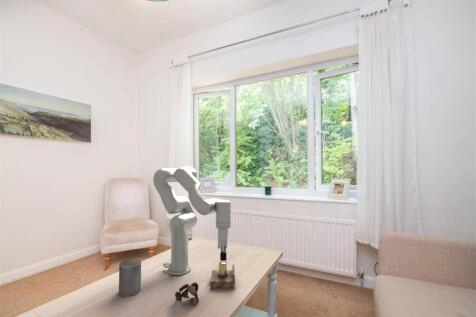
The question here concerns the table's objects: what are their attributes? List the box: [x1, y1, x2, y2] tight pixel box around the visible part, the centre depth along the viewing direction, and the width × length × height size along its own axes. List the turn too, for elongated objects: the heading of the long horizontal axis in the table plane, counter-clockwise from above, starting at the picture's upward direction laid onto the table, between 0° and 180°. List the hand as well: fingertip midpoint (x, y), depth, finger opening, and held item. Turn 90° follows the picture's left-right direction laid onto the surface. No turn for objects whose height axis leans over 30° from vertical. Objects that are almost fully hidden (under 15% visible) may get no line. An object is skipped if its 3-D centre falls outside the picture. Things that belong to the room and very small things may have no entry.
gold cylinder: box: [218, 261, 228, 278], centre depth 121 cm, size 4×4×10 cm
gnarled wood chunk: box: [174, 281, 200, 307], centre depth 105 cm, size 12×10×8 cm
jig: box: [209, 264, 236, 290], centre depth 121 cm, size 12×12×6 cm
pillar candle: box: [118, 258, 142, 298], centre depth 112 cm, size 10×10×15 cm
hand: (223, 260), depth 121 cm, fingers closed
